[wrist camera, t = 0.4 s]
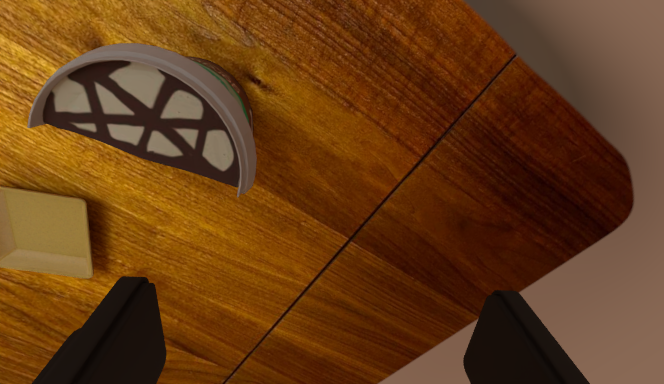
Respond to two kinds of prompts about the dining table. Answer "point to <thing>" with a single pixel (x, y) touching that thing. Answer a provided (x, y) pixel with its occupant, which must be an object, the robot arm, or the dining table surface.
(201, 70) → the food container
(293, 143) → the dining table surface
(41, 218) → the saucer
